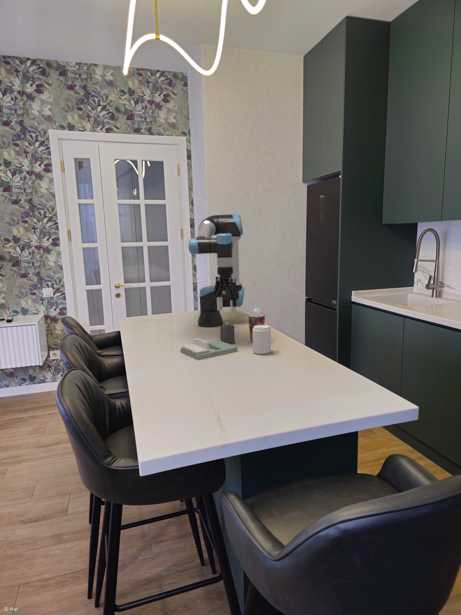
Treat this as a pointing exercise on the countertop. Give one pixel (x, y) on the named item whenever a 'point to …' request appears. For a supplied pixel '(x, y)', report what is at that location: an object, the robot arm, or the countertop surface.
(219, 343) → the socket plate
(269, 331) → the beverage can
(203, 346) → the panel
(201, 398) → the countertop surface
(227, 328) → the plug
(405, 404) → the countertop surface
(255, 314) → the smoothie
